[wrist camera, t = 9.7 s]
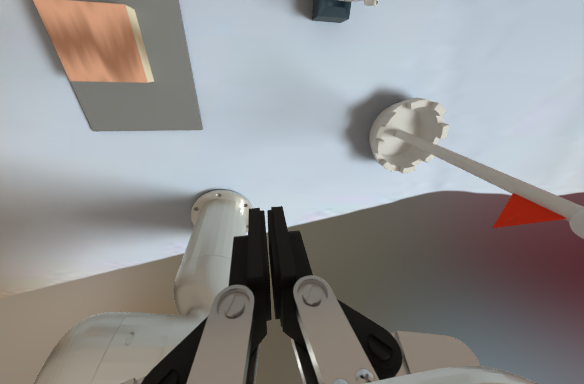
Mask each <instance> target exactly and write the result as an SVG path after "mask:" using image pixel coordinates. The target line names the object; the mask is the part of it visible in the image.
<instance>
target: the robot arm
mask: <svg viewBox="0 0 584 384" xmlns="http://www.w3.org/2000/svg"><path fill="white" fill-rule="evenodd" d="M191 221H192V223H193V225H194V229H193V231H192V234H191V237H190V240H189V242H188V245H187V248H186V251H185V253H184V257H183V259H182V262H181V265H180V267H179V270H178V273H177V276H176V279H175V282H174V300H175V304H176V307H177V309H178V312H179V314H180V315H164V314H149V313H132V312H131V313H128V312H107V313H101V314H96V315H93V316H90V317H88V318H86V319H84V320H82V321H80V322H79V323H77V324H76V325H75V326H73V327H72V328H71V329H70V330H69V331H68V332H67V333H66V334H65V335H64V336H63V337H62V339H61V340H60V341H59V342H58V343H57V345H56V346H55V347H54V349H53V350H52V352H51V353H50V355H49V357H48V358H47V360H46V362H45V363H44V365H43V367H42V369H41V371H40V372H39V374H38V376H37V378H36V380H35V382H34V384H255V382H256V372H257V362H258V352H259V344H260V342H261V341H262V339H263V338H264V337H265V336H266V334H267V325H266V321H268V320H271V299H270V274H269V262H268V250H267V238H266V227H265V215H264V211H260V208H252V206H251V204H250V202H249V201H248V200H247V199H246V198H245V197H243V196H242V195H240V194H238V193H236V192H233V191H229V190H215V191H210V192H207V193H205V194H203V195H202V196H200V197H199V198H198V199H197V200H196V201H195V203H194V205H193V207H192V210H191ZM247 231H248V235H246V232H247ZM268 235H269V255H270V266H271V278H272V287H273V299H274V310H275V319H280V321H281V327H282V328H283V332H285V333H286V334H287V335H288V336H289V337H291V341H292V344H293V348H294V352H295V355H296V359H297V362H298V366H299V369H300V373H301V376H302V380H303V383H304V384H537V383H535V382H533V381H530V380H528V379H526V378H523V377H521V376H519V375H515V374H513V373H509V372H506V371H503V370H499V369H493V368H489V367H482V366H481V365H480V363H479V361H478V359H477V358H476V356H475V355H474V354H473V353H472V351H471V350H470V349H469V348H468V347H467V346H466V345H465V344H464V343H463V342H461V341H459V340H458V339H456V338H453V337H450V336H444V335H435V334H425V333H415V332H405V331H396V333H389V332H388V331H387V330H385V329H384V328H383V327H381V326H379V325H378V324H376V323H374V322H373V321H371V320H370V319H368V318H366V317H365V316H363V315H362V314H360V313H358V312H357V311H355V310H353V309H352V308H350V307H349V306H347V305H346V304H344V303H342V302H341V301H339V300H337V299H336V297H335V295H334V293H333V291H332V289H331V287H330V286H329V285H328V283H327V282H326V281H324V280H323V279H322V278H319V277H317V276H313V274H312V271H311V268H310V264H309V261H308V258H307V254H306V251H305V247H304V244H303V240H302V237H301V234H300V232H299V231H290V232H288V230H287V226H286V221H285V216H284V212H283V207H282V206H281V207H272V208H271V210H268Z"/></svg>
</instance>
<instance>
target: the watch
mask: <svg viewBox="0 0 584 384" xmlns="http://www.w3.org/2000/svg"><path fill="white" fill-rule="evenodd" d="M351 1H363V0H314V1H313V16H312V20H313V21H324V22H336V23H341V22H343V21H345V20H347V19H349V15H350V8H351ZM377 2H378V0H364V4H365V5H366V6H374V7H375V6H376V5H377Z"/></svg>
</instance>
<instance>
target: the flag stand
mask: <svg viewBox="0 0 584 384" xmlns="http://www.w3.org/2000/svg"><path fill="white" fill-rule="evenodd" d="M445 113H446V110H445V109H444V107H443V106H442V105H441V104H439V103H436V102H432V101H430V100H427V99H422V98H411V99H407V100H404V101H402V102H399V103H395V104H393V105H391V106H389V107H387V108H386V109H385V110H383V111H382V112H381V113H380V114H379V115H378V116H377V118H376V119H375V121H374V123H373V125H372V127H371V130H370V135H369V143H370V147H371V149H372V152H373V156H374V157H375V159H376V161H377V162H378V163H379V164H380V165H382V166H383V167H384V168H386V169H387V170H389V171H392V170H393V171H400V172H401V173H408V172H412V171H415V166H416V165H418V164H419V163H421V162H422V161H425V162H426V163H428V162H429V161H430V160H431V159H432V158H433V157H434V156H436V157H438V158H440V159H442V160H444V161H446V162H448V163H450V164H453V165H455V166H457V167H459V168H461V169H463V170H465V171H467V172H469V173H471V174H473V175H475V176H477V177H479V178H481V179H483V180H485V181H487V182H489V183H491V184H494V185H496V186H498V187H500V188H502V189H504V190H506V191H508V192H510V193H512V196H511V198H510V199H509V201H508V203H507V205H506V206H505V208H504V210H503V211H502V213H501V215H500V216H499V218H498V220H497V221H496V223H495V225H494V226H493V228H496V227H504V226H512V225H520V224H528V223H536V222H544V221H552V220H560V219H565V220H567V221H569V222H570V227H571V229H572V230H573V232H574V233H576V234H577V235H578V236H580V237H582V238H583V239H584V207H582V206H580V205H578V204H575V203H573V202H571V201H568V200H566V199H564V198H561V197H559V196H556V195H554V194H552V193H549V192H547V191H545V190H542V189H540V188H537V187H535V186H533V185H530V184H528V183H526V182H523V181H521V180H519V179H516V178H514V177H511V176H509V175H507V174H504V173H502V172H500V171H497V170H495V169H493V168H490V167H488V166H485V165H483V164H481V163H478V162H476V161H474V160H471V159H469V158H467V157H464V156H462V155H459V154H457V153H455V152H452V151H450V150H448V149H445V148H443V147H441V146H438V145H437V144H438V142H439V140H440V139H446V136H447V133H448V127H449V125H448V124H445V123H444V120H443V115H444V114H445Z"/></svg>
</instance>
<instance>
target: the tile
mask: <svg viewBox="0 0 584 384" xmlns="http://www.w3.org/2000/svg"><path fill="white" fill-rule="evenodd" d="M33 1H34V3H35V6H36V8H37V10H38V12H39V14H40V17H41V19H42V21H43V23H44V25H45V28H46V30H47V32H48V34H49V36H50V38H51V41H52V43H53V45H54V47H55V49H56V52H57V54H58V56H59V58H60V60H61V63H62V65H63V67H64V69H65V71H66V73H67V76H68V78H69V80H70V81H89V82H139V83H148V82H154V79H153V75H152V72H151V68H150V64H149V61H148V57H147V53H146V50H145V46H144V42H143V39H142V35H141V31H140V28H139V24H138V21H137V17H136V13H135V10H134V9H133V8H131V7H129V6H127V5H124V4H113V3H99V2H86V1H72V0H33Z"/></svg>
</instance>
